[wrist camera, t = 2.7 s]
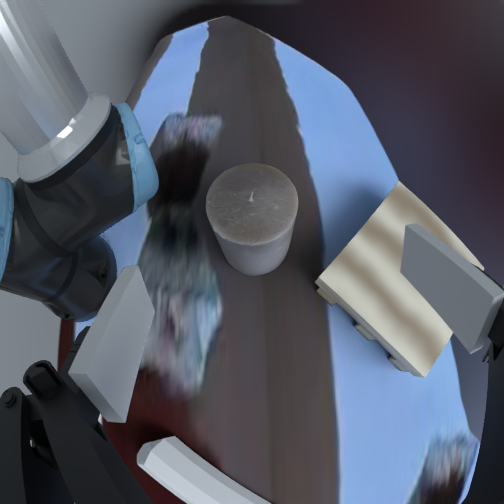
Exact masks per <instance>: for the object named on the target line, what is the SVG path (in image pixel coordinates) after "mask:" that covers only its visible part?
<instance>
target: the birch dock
mask: <svg viewBox="0 0 504 504" xmlns="http://www.w3.org/2000/svg"><path fill="white" fill-rule="evenodd" d="M415 223H417V224H419V225H420V226H422V227H423V228H424V229H426V230H427V231H429V232H430V233H432V234H433V235H434V236H436V237H437V238H439V239H440V240H441V241H443V242H444V243H445V244H447V245H448V246H449V247H451V248H452V249H453V250H455V251H456V252H457V253H459V254H460V255H461V256H463V257H464V258H465V259H466V260H468V261H469V262H470V263H472V264H474V265H476V266H478V267H479V268H480V269H482V270H483V271H484V267H483V266H482V265H481V264H480V263H479V261H478V260H477V259H476V258H475V256H474V255H473V254H472V253H471V252H470V251H469V250H468V248H467V247H466V246H465V245H464V244H463V243H462V242H461V241H460V240H459V238H457V236H456V235H455V234H454V233H453V232H452V231H451V230H450V229H449V228H448V227H447V226H446V225H445V224H444V223H443V222H442V221H441V220H440V219H439V218H438V217H437V216H436V215H435V214H434V213H433V212H432V211H431V210H430V209H429V208H428V207H427V206H426V205H425V204H424V203H423V202H422V201H421V200H419V199H418V198H417V197H416V196H415V195H414V194H413V193H412V192H411V191H409V190H408V189H407V188H406V187H405V186H404V185H403V184H402V183H401V182H398V183H397V184H396V186H395V187H394V188H393V189H392V191H391V192H390V193H389V195H388V196H387V197H386V198H385V200H384V201H383V202H382V203H381V205H380V206H379V207H378V208H377V210H376V211H375V212H374V213H373V215H372V216H371V217H370V218H369V219H368V221H367V222H366V223H365V224H364V225H363V227H362V228H361V229H360V230H359V231H358V233H357V234H356V235H355V236H354V237H353V239H352V240H351V241H350V242H349V243H348V244H347V246H346V247H345V248H344V249H343V250H342V251H341V253H340V254H339V255H338V256H337V257H336V258H335V259H334V261H333V262H332V263H331V264H330V265H329V266H328V267H327V268H326V270H325V271H324V272H323V273H322V274H321V275H320V276H319V277H318V279H317V280H316V281H315V283H316V284H317V285H318V286H319V287H320V288H319V289H318V290H317V291H316V292H317V293H318V294H319V295H320V296H321V297H322V298H323V299H324V300H326V301H327V302H328V303H329V304H330V305H331V306H332V305H333V304H335V303H337V304H339V305H340V306H341V307H342V308H343V309H344V310H345V311H346V312H347V313H348V314H349V315H350V316H351V317H352V318H354V319H355V320H356V321H357V323H356V324H355V326H354V327H355V328H356V329H357V330H358V331H359V332H360V333H361V334H362V335H363V336H364V337H365V338H366V339H367V340H375V339H376V340H377V341H378V342H379V343H380V344H381V345H382V346H383V347H384V348H385V349H386V350H387V351H388V352H389V353H390V354H391V356H390V357H389V358H388V360H390V361H391V362H392V363H393V364H394V365H395V366H396V367H397V368H398V369H399V370H400V371H405V372H410V373H411V374H412V375H413V376H417V377H424V378H425V376H426V375H427V373H428V372H429V370H430V369H431V367H432V366H433V364H434V363H435V361H436V360H437V358H438V357H439V355H440V353H441V352H442V350H443V349H444V347H445V345H446V344H447V342H448V340H449V339H450V337H451V335H452V333H453V331H452V330H451V329H450V328H449V327H448V325H447V324H446V323H445V322H444V321H443V319H442V318H441V317H440V316H439V315H438V314H437V312H436V311H435V310H434V309H433V308H432V307H431V305H430V304H429V303H428V302H427V301H426V300H425V299H424V298H423V296H422V295H421V294H420V293H419V292H418V291H417V290H416V289H415V288H414V287H413V286H412V284H411V283H410V282H409V281H408V280H407V279H406V278H405V277H404V276H403V275H402V274H401V273H400V268H401V260H402V252H403V243H404V233H405V225H408V224H415Z"/></svg>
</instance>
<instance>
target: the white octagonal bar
mask: <svg viewBox="0 0 504 504" xmlns="http://www.w3.org/2000/svg"><path fill="white" fill-rule="evenodd" d="M174 447H175V448H174ZM180 452H181V453H180ZM185 456H186V457H185ZM190 460H191V461H190ZM137 464H138V465H139V466H140V467H141V468H142V469H143V470H145V471H146V472H147V473H148V474H149V475H151V476H152V477H153V478H154V479H155V480H157V481H158V482H159V483H160V484H162V485H163V486H164V487H165V488H167V489H168V490H169V491H171V492H172V493H173V494H175V495H176V496H177V497H179V498H180V499H182V500H183V501H184V502H186V503H187V504H271V503H270V502H268V501H266V500H264V499H263V498H261V497H259V496H257V495H256V494H254V493H252V492H251V491H249V490H247V489H246V488H244V487H243V486H241V485H240V484H238V483H237V482H235V481H233V480H232V479H230V478H229V477H228V476H226V475H225V474H223V473H222V472H220V471H219V470H217V469H216V468H215V467H213V466H212V465H211V464H209V463H208V462H206V461H205V460H204V459H202V458H201V457H200V456H199V455H197V454H196V453H195V452H193V451H192V450H191V449H190V448H188V447H187V446H186V445H185V444H184V443H182V442H181V441H180V440H179V439H178V438H176V437H175V436H172V437H168V438H164V439H160V440H156V441H152V442H149V443H145V444H143V445H142V447H141V449H140V451H139V452H138V454H137ZM206 472H207V473H206ZM213 477H214V478H213Z"/></svg>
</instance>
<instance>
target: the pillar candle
mask: <svg viewBox="0 0 504 504" xmlns="http://www.w3.org/2000/svg"><path fill="white" fill-rule="evenodd" d="M297 210H298V197H297V192H296V189H295V187H294V185H293V183H292V182H291V181H290V179H289V178H288V177H287V176H286V175H285V174H283V173H282V172H281V171H279V170H278V169H276V168H274V167H272V166H269V165H265V164H261V163H246V164H241V165H236V166H234V167H232V168H229V169H227V170H226V171H224V172H223V173H221V174H220V175H219V176H218V177H217V178H216V179H215V180H214V181H213V183H212V184H211V186H210V188H209V190H208V193H207V196H206V213H207V217H208V220H209V222H210V224H211V227H212V229H213V231H214V233H215V236H216V238H217V240H218V242H219V245H220V247H221V249H222V251H223V254H224V256H225V258H226V260H227V261H228V263H229V264H230V265H231V266H232V267H233V268H234V269H236V270H237V271H239V272H241V273H243V274H246V275H262V274H266V273H269V272H271V271H273V270H274V269H276V268H277V267H278V266H279V265H280V264H281V263H282V261H283V260H284V259H285V257H286V254H287V252H288V249H289V245H290V241H291V236H292V231H293V227H294V222H295V218H296V215H297Z"/></svg>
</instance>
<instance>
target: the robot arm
mask: <svg viewBox="0 0 504 504" xmlns="http://www.w3.org/2000/svg"><path fill="white" fill-rule="evenodd" d="M0 131H1V133H2V134H3V135H4V136H5V138H6V139H7V140H8V141H9V142H10V144H11V145H12V146H13V147H14V148H15V149H16V150H17V151H18V154H19V156H18V166H17V171H18V175H19V177H20V178H19V179H18V180H17V181H16V182H14V183H12V182H11V181H10V180H9V179H8V178H3V177H0V289H1V290H4V291H7V292H10V293H13V294H17V295H20V296H23V297H27V298H30V299H34V300H37V301H41V302H42V303H43V304H44V305H45V306H46V307H47V308H48V309H50V310H51V311H52V312H53V313H54V314H55V315H57V316H59V317H60V318H62V319H65V320H69V321H74V322H83V321H87V320H90V319H92V318H94V317H95V316H96V317H95V319H94V321H93V323H92V325H91V326H86V327H85V328H84V329H83V330H82V331H81V332H80V333H79V334H78V336H77V338H76V340H75V342H74V346H72V348H71V350H70V353H69V354H68V356H67V358H66V360H65V362H64V364H63V366H62V368H61V370H60V372H59V374H58V372H57V371H56V370H55V368H54V367H53V366H52V364H51V363H50V362H49V361H46V360H41V361H38V362H36V363H34V364H33V365H31V366H30V367H29V368H28V370H27V371H26V372H25V374H24V377H23V383H24V384H25V385H26V387H27V388H28V389H29V390H30V392H31V393H32V395H26V396H25V394H24V393H23V392H22V391H21V390H20V389H19V388H17V387H11V388H9V389H7V390H6V391H5V392H4V393H3V394H2V396H1V398H0V504H74V502H75V504H154V503H153V502H152V500H151V499H150V498H149V497H148V495H147V494H146V493H145V491H144V490H143V489H142V487H141V486H140V485H139V483H138V482H137V480H136V479H135V478H134V476H133V475H132V473H131V472H130V470H129V469H128V468H127V466H126V465H125V463H124V462H123V460H122V458H121V457H120V455H119V454H118V452H117V451H116V449H115V447H114V446H113V444H112V442H111V441H110V439H109V437H108V435H107V434H106V432H105V430H104V428H103V427H102V425H101V424H100V423H99V422H98V418H99V415H100V413H101V415H102V416H103V417H104V418H105V419H106V420H107V421H109V422H121V423H125V422H126V418H127V413H128V409H129V405H130V400H131V396H132V392H133V388H134V384H135V380H136V376H137V373H138V369H139V365H140V362H141V358H142V354H143V351H144V347H145V344H146V340H147V337H148V333H149V330H150V327H151V323H152V320H153V317H154V314H155V311H154V308H153V306H152V303H151V300H150V298H149V295H148V292H147V290H146V287H145V284H144V281H143V278H142V275H141V273H140V270H139V267H138V265H137V266H131V267H124V268H123V270H122V272H121V273H120V275H119V277H118V278H117V280H116V276H117V267H116V260H115V257H114V254H113V251H112V249H111V248H110V246H109V245H108V243H107V242H106V241H105V240H103V239H102V238H101V237H99V236H98V235H100V234H101V233H103V232H104V231H106V230H107V229H109V228H110V227H112V226H113V225H114V224H116V223H117V222H119V221H120V220H122V219H124V218H125V217H127V216H128V215H130V214H131V213H134V212H135V211H136V210H137V208H138V207H140V206H141V205H142V204H144V203H145V202H146V201H148V200H149V199H151V198H152V197H153V196H154V195H155V194H156V192H157V190H158V186H159V179H158V174H157V171H156V168H155V165H154V162H153V159H152V156H151V153H150V151H149V148H148V146H147V143H146V141H145V140H144V138H143V135H142V132H141V130H140V126H139V124H138V122H137V120H136V118H135V116H134V114H133V112H132V110H131V108H130V107H129V105H128V104H127V103H125V102H121V103H117V104H114V105H112V103H111V101H110V99H109V98H108V96H106V95H105V94H103V93H95V92H88V91H86V89H85V87H84V85H83V83H82V82H81V80H80V78H79V76H78V74H77V73H76V71H75V69H74V67H73V65H72V63H71V62H70V60H69V58H68V56H67V54H66V52H65V50H64V48H63V46H62V44H61V42H60V40H59V39H58V36H57V35H56V33H55V30H54V28H53V27H52V24H51V23H50V20H49V18H48V16H47V14H46V12H45V10H44V8H43V6H42V3H41V1H40V0H0ZM400 273H401V274H402V275H403V276H404V277H405V278H406V279H407V280H408V281H409V282H410V283H411V284H412V286H413V287H414V288H415V289H416V290H417V291H418V292H419V293H420V294H421V295H422V296H423V298H424V299H425V300H426V301H427V302H428V303H429V304H430V305H431V307H432V308H433V309H434V310H435V311H436V312H437V314H438V315H439V316H440V317H441V318H442V319H443V321H444V322H445V323H446V324H447V325H448V327H449V328H450V329H451V330H452V331H453V333H454V334H455V335H456V336H457V337H458V339H459V340H460V341H461V342H462V344H463V345H464V346H465V348H466V349H467V350H468V351H469V353H470V354H471V353H473V352H475V351H477V350H479V349H481V348H482V347H483V345H484V343H485V341H486V339H487V337H489V338H490V340H491V343H490V345H489V347H488V349H487V351H486V353H485V355H484V357H483V360H482V362H484V361H485V359H486V357H487V356H489V359H488V361H487V363H489V372H488V390H487V402H486V412H485V419H484V426H483V433H482V439H481V444H480V449H479V454H478V458H477V463H476V467H475V471H474V475H473V478H472V482H471V485H470V489H469V492H468V494H467V496H466V498H465V499H464V501H463V502H462V503H461V504H504V288H503V287H502V286H500V285H499V284H498V283H497V282H496V281H495V280H493V279H491V277H490V276H489V275H487V274H485V272H484V271H483V270H482V269H480V268H479V267H478V266H476V265H474V264H472V263H470V262H469V261H468V260H466V259H465V258H464V257H463V256H461V255H460V254H459V253H457V252H456V251H455V250H453V249H452V248H451V247H449V246H448V245H447V244H445V243H444V242H443V241H441V240H440V239H439V238H437V237H436V236H434V235H433V234H432V233H430V232H429V231H427V230H426V229H424V228H423V227H422V226H420V225H419V224H417V223H415V224H408V225H405V233H404V243H403V252H402V260H401V268H400ZM30 440H32V447H31V445H30Z"/></svg>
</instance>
